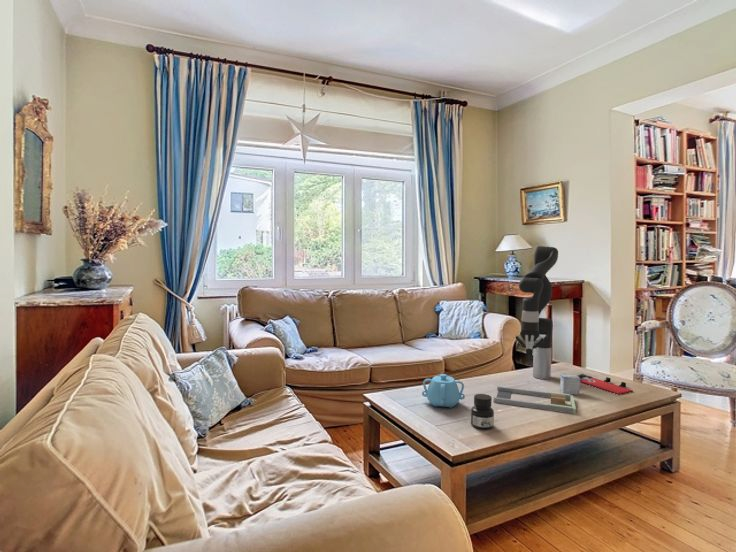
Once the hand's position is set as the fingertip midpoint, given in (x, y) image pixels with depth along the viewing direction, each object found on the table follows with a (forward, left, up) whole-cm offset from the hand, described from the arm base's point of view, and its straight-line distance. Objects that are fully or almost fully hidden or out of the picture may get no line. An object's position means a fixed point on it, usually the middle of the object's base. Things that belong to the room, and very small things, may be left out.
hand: (529, 356), depth 196 cm
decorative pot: (+20, -36, -21) cm, 47 cm away
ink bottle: (+38, -16, -21) cm, 47 cm away
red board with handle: (-40, +35, -22) cm, 57 cm away
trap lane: (0, +2, -21) cm, 21 cm away
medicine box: (-19, +19, -21) cm, 34 cm away
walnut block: (+1, +13, -21) cm, 25 cm away
